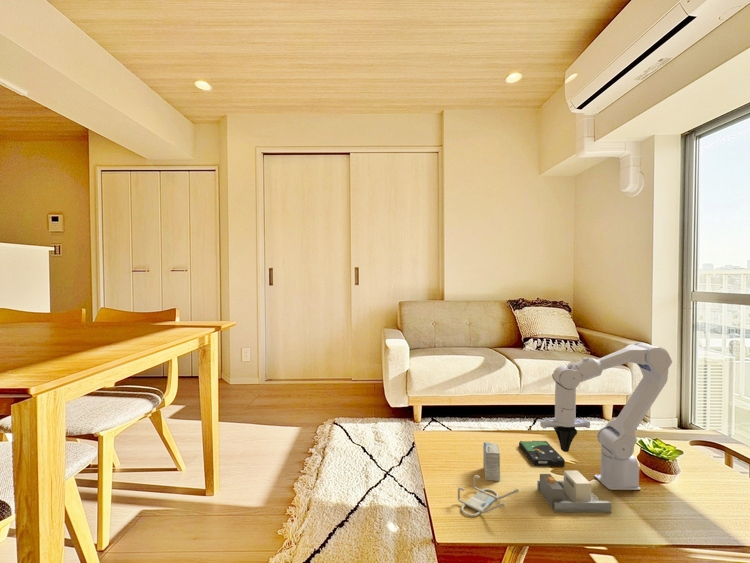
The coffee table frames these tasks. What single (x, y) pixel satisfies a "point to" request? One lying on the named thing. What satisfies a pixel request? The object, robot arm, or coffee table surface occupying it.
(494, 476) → the medicine box
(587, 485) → the block
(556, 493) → the block
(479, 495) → the wall mount rack
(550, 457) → the disk drive
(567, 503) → the grey tray
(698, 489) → the coffee table surface
